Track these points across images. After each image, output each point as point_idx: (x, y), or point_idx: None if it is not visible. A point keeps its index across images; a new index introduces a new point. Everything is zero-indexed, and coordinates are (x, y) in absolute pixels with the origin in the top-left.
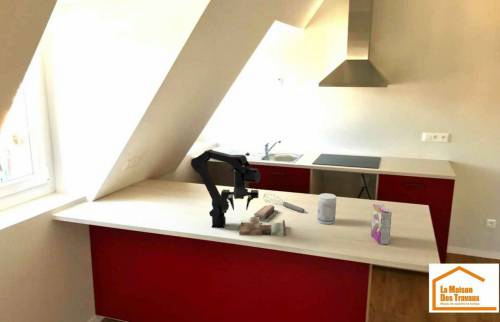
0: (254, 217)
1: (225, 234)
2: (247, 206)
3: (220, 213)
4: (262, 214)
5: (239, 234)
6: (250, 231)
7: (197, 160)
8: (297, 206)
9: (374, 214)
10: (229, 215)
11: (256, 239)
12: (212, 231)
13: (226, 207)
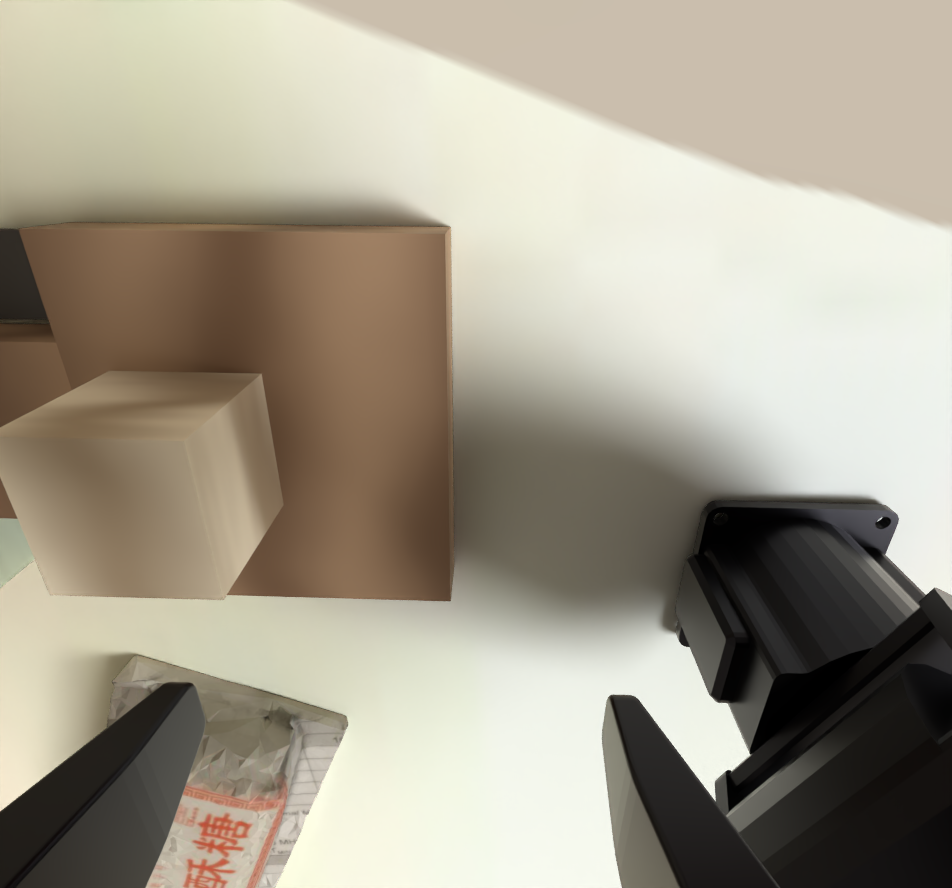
0: (140, 586)
1: (693, 251)
2: (31, 812)
3: (915, 672)
4: None
5: (446, 227)
6: (226, 232)
7: None
8: None
9: None
10: None
11: (101, 18)
12: (901, 372)
13: (799, 864)
